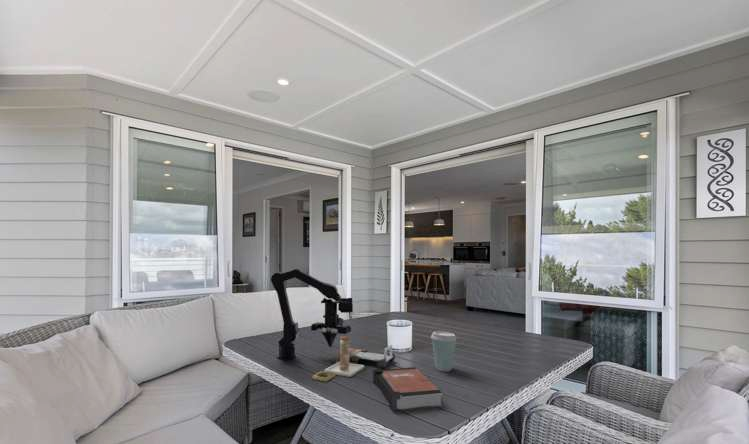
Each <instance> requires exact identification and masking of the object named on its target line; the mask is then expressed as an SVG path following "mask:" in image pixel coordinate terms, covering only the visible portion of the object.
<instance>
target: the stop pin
mask: <svg viewBox="0 0 749 444" xmlns="http://www.w3.org/2000/svg"><path fill="white" fill-rule="evenodd" d="M339 338H340V339H339V353H340V370H341V371H347V370H349V348H350V337H349V336H347V335H345V336H344V335H343V336H340V337H339Z"/></svg>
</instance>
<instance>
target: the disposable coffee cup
mask: <svg viewBox="0 0 749 444" xmlns="http://www.w3.org/2000/svg"><path fill="white" fill-rule="evenodd" d="M430 336H431V337H430V338H431V343H432V344H431V345H432V349H433V350H432V351H433V358H434V365H435V369H436V370H437V371H440V372H450V371H451V370H452V368H453V364H454V356H455V350H456V343H457V340H458V338H457V336H456V335H455V333H451V332H448V331H433V332H432V334H431V335H430Z"/></svg>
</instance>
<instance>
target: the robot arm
mask: <svg viewBox="0 0 749 444" xmlns="http://www.w3.org/2000/svg"><path fill="white" fill-rule="evenodd" d="M292 279H296V280H299V281H301V282H303V283H305V284H307V285H308V286H310V287H312V288H314V289H315V290H317V291H318V292H320V293H321V295H323V296H324V297H323V298H322V300H321V301H320V304H324V314H323V315H322V318H324V322H318V321H317V322H315V323H314V322H313V323H312V324H311V325H310V331H318V330H321V332H320V334H322V335H323V337H324V339H325V340H326V343H327V345H328V347H329V348H332V347H333V344H334V341H335V338H336V336H337V334H341V335H346V334H348V333H349V334H350V333H351V332H352V328H351V325H348V324H347V325H346V324H344V318H341V317H340V315H339V313H338V311H339V312H340V313H341V314H343V313H345V314H346V313H347V314H349V313H352V314H354V304H353V297H342V296H341V295H340V293H339V291H338V287H337V286H336V285H334V284H331V283H329V282H324V281H321V280H319V279H317V278H316V277H313V276H311V274H308V273H307V272H305V271H302V270H301V269H299V268H294V269H292V270H289V271H286V272H282V271H279V272H275V273H273V274H272V275H271V277H270V281H271V284H272V286H273V288H274V290H275V291H276V294H277V297H278V299H277V300H278V303H279V308H280V313H281V316H282V322H283V328H282V330H283V331H282V333H283V336H282V337H281V338H280V340H278V356H276V359H278V360H284V361H289V360H291V359H293V358H296V357H297V354H296V353H295V352H296V347H295V343H294V341H296V339H297V337H298V336H299V332H300V330H301V329H300V328H299V322H295V320H294V319H293V315H292V310H291V306H290V301H289V296H288V292H287V281H289V280H292Z"/></svg>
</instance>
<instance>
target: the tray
mask: <svg viewBox="0 0 749 444" xmlns="http://www.w3.org/2000/svg"><path fill="white" fill-rule="evenodd" d="M363 369H365V365H364V364H361V363H360V364H358V363H357V364H353V363H349V370H347V371H341V370H340V361H339V362H336V363H334V364H333V365H330V366H329V367H327V368H325V369H324V370H323V371H324V372H330V373H335V376H341V377H347V378H351V377H353V376H354V375H356V374H358V373H359V372H361V371H362V370H363Z"/></svg>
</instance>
